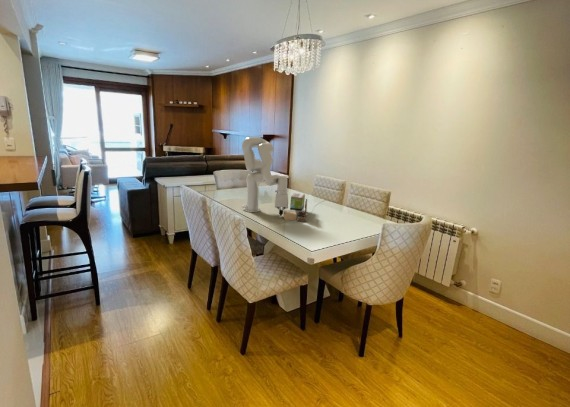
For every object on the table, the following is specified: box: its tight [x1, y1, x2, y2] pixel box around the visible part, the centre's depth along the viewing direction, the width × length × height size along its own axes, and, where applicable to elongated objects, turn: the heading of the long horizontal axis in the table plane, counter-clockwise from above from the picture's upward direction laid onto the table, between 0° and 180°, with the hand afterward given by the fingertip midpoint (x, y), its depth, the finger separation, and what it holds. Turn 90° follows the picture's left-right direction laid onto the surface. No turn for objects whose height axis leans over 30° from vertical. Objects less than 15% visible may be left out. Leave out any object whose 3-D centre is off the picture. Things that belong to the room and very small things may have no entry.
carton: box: [282, 209, 298, 221], centre depth 241 cm, size 9×12×5 cm
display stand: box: [297, 198, 308, 223], centre depth 240 cm, size 6×19×14 cm, turn 175°
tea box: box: [289, 192, 306, 216], centre depth 257 cm, size 15×10×15 cm, turn 168°
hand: (281, 215), depth 242 cm, fingers closed
